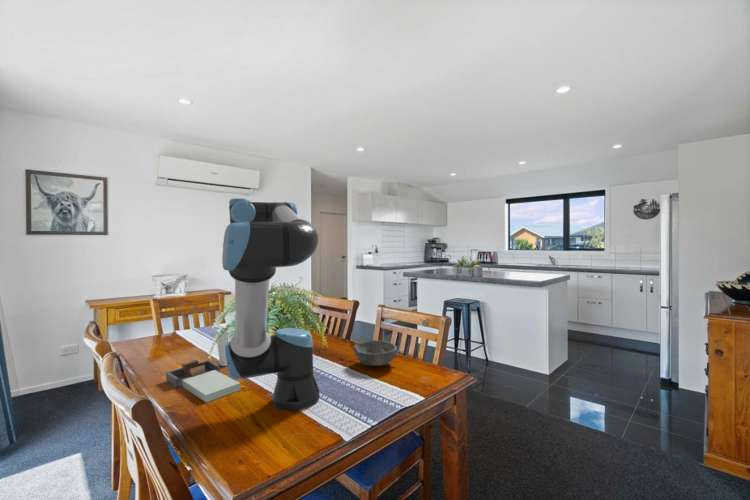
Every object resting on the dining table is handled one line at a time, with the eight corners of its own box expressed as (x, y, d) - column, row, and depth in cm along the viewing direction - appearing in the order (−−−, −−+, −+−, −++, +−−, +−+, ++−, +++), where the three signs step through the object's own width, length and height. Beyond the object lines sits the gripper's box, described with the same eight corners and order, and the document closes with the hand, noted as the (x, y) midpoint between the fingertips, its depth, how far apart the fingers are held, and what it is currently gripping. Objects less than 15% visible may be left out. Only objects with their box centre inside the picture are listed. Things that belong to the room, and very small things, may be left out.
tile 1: (198, 361, 140) (195, 359, 142) (185, 364, 136) (181, 363, 138) (199, 373, 140) (195, 371, 142) (185, 377, 137) (182, 375, 139)
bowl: (404, 368, 142) (404, 348, 142) (363, 375, 136) (362, 355, 135) (386, 354, 159) (386, 337, 159) (349, 360, 152) (348, 342, 152)
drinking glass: (228, 367, 148) (227, 332, 147) (214, 366, 149) (212, 331, 148) (238, 361, 154) (236, 327, 154) (224, 361, 156) (222, 327, 155)
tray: (220, 374, 141) (219, 365, 140) (176, 388, 129) (176, 378, 128) (208, 368, 147) (208, 360, 147) (166, 381, 135) (166, 372, 135)
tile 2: (205, 372, 136) (204, 364, 137) (192, 376, 132) (190, 368, 133) (201, 374, 139) (199, 367, 140) (187, 378, 135) (186, 371, 136)
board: (240, 390, 126) (240, 383, 126) (206, 402, 117) (205, 395, 117) (215, 376, 139) (214, 369, 139) (182, 386, 130) (182, 379, 130)
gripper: (260, 240, 130) (262, 303, 131) (242, 240, 139) (244, 300, 140) (240, 240, 125) (243, 307, 126) (223, 241, 133) (226, 303, 134)
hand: (244, 303), depth 133 cm, fingers closed
